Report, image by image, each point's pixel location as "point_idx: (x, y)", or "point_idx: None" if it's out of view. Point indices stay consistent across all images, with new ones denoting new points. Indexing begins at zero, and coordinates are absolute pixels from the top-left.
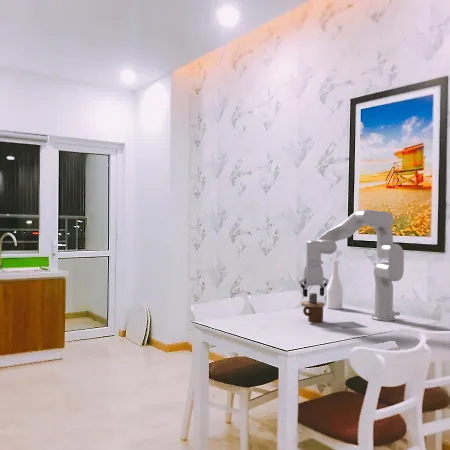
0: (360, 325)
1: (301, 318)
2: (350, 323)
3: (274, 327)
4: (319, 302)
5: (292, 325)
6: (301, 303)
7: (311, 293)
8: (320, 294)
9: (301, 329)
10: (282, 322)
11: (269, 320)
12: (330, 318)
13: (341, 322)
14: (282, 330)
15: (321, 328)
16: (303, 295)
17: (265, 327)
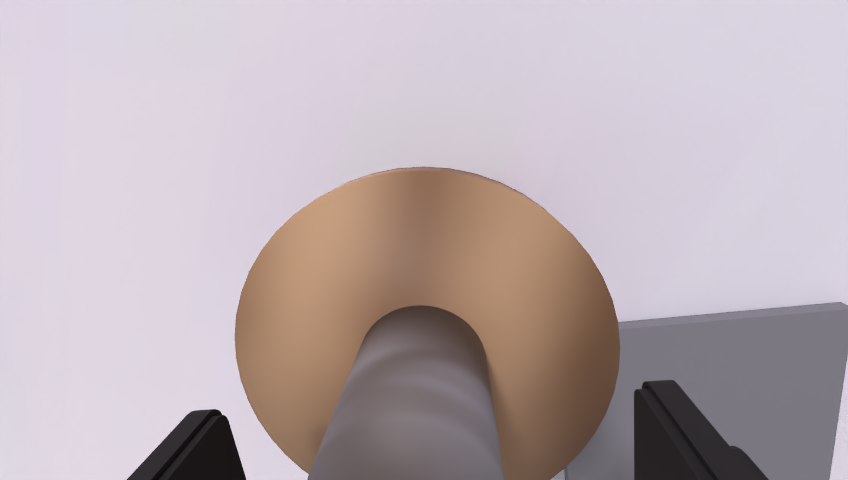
0: (799, 462)
1: (402, 2)
2: (764, 382)
3: (74, 377)
4: (568, 315)
5: (227, 328)
6: (241, 311)
7: (371, 473)
8: (644, 429)
9: (267, 459)
10: (158, 200)
11: (40, 91)
12: (756, 28)
13: (704, 332)
14: (125, 468)
15: None
16: (188, 414)
17: (6, 369)
